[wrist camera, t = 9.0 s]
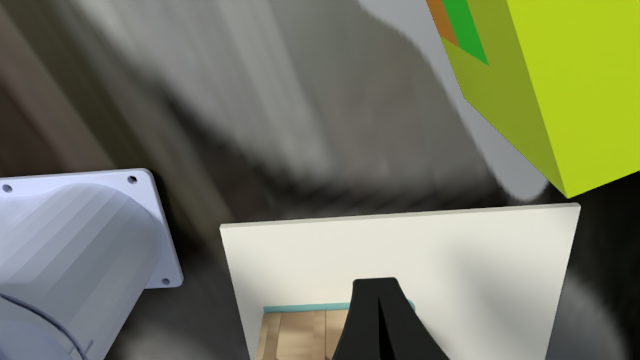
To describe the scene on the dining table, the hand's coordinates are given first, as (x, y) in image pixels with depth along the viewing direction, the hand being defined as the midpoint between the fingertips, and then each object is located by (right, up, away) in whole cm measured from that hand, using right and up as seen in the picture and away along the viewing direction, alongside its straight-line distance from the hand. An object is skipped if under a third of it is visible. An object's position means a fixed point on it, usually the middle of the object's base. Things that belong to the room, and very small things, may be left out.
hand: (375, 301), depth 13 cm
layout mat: (+3, -6, +14) cm, 16 cm away
